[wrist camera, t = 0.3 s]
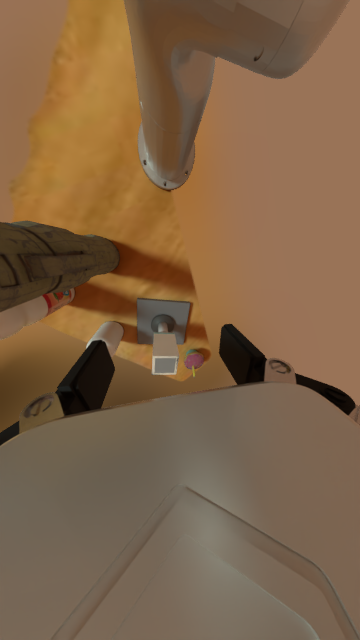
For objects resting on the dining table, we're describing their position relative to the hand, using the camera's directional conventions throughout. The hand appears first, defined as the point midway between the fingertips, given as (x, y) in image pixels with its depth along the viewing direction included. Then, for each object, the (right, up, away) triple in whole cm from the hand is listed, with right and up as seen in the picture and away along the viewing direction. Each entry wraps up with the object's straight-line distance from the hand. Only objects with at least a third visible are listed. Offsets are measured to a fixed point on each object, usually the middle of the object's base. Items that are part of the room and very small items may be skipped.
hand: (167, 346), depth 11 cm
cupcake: (+6, -13, +49) cm, 51 cm away
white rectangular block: (-4, -4, +30) cm, 30 cm away
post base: (-6, +1, +40) cm, 40 cm away
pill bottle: (-24, -1, +38) cm, 45 cm away
